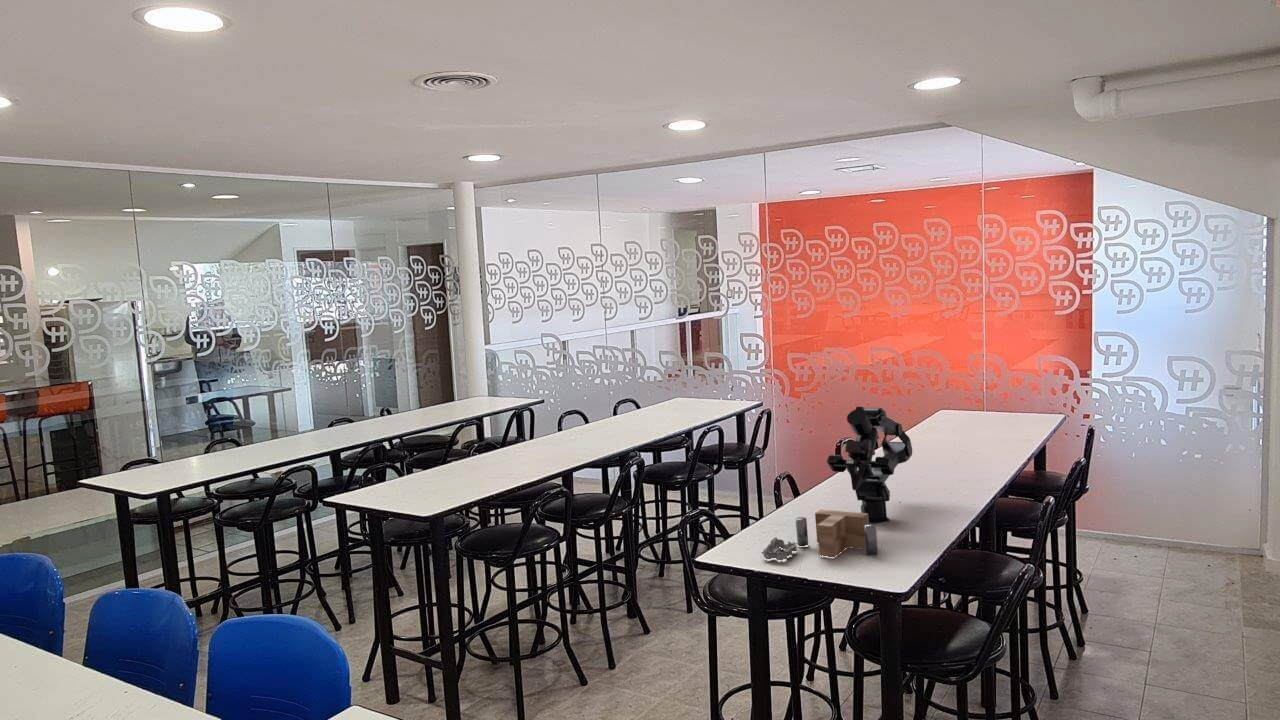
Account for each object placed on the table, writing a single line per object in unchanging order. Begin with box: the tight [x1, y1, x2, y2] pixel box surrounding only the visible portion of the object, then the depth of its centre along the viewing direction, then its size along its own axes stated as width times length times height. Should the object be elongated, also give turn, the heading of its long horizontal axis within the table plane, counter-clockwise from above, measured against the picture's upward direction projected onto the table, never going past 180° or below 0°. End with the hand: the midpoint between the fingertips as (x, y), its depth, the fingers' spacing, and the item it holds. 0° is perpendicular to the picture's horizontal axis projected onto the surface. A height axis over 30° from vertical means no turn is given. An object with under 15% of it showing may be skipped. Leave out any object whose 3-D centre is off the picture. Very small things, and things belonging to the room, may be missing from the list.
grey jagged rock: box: [761, 536, 798, 560], centre depth 234 cm, size 11×8×4 cm
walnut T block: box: [814, 509, 869, 557], centre depth 234 cm, size 14×14×9 cm
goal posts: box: [795, 516, 879, 556], centre depth 234 cm, size 3×23×8 cm, turn 55°
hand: (854, 489), depth 246 cm, fingers closed
